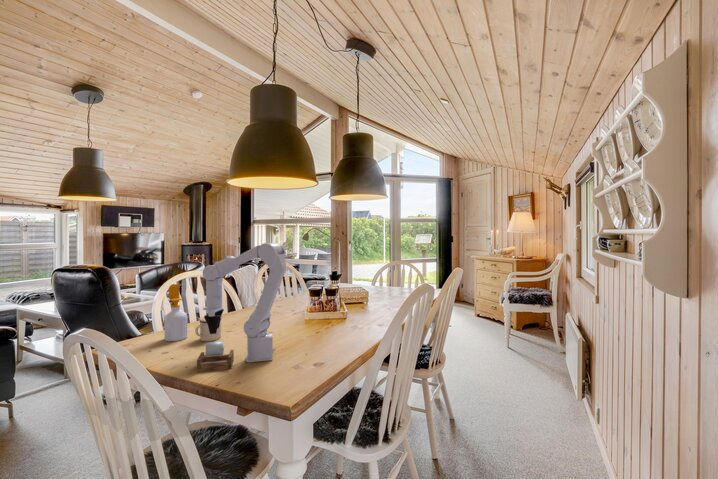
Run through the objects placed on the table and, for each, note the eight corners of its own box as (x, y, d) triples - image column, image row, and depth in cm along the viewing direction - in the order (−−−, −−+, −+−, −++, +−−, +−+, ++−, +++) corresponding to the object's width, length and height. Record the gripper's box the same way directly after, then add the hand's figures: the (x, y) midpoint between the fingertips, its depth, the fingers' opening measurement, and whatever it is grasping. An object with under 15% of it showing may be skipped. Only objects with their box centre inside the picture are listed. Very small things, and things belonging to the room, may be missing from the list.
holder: (233, 360, 127) (233, 349, 127) (231, 368, 120) (231, 357, 120) (201, 363, 124) (201, 352, 124) (197, 371, 117) (196, 360, 117)
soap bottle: (167, 343, 148) (166, 286, 147) (162, 338, 155) (162, 283, 154) (189, 338, 154) (189, 284, 153) (184, 334, 160) (183, 281, 160)
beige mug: (212, 334, 160) (212, 309, 160) (226, 337, 156) (225, 311, 156) (189, 341, 150) (188, 314, 150) (202, 344, 145) (202, 317, 145)
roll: (224, 352, 136) (224, 339, 136) (222, 356, 131) (222, 343, 131) (207, 353, 135) (207, 341, 135) (205, 358, 130) (205, 345, 130)
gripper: (206, 293, 139) (206, 326, 139) (199, 299, 125) (199, 337, 125) (224, 292, 140) (225, 325, 141) (220, 298, 126) (220, 335, 127)
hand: (214, 330), depth 133 cm, fingers open, 7 cm apart
